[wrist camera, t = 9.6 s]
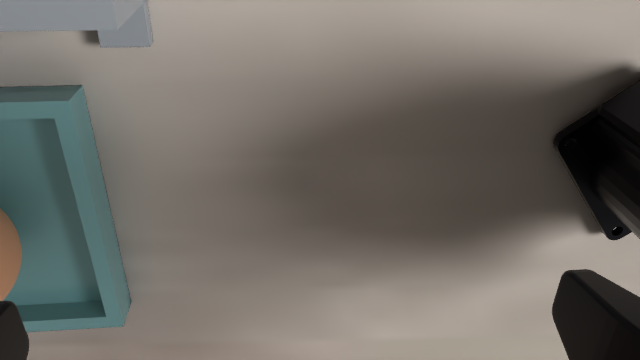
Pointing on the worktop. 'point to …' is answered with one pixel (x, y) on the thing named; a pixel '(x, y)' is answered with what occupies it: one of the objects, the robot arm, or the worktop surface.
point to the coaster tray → (59, 212)
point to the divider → (82, 19)
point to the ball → (8, 255)
